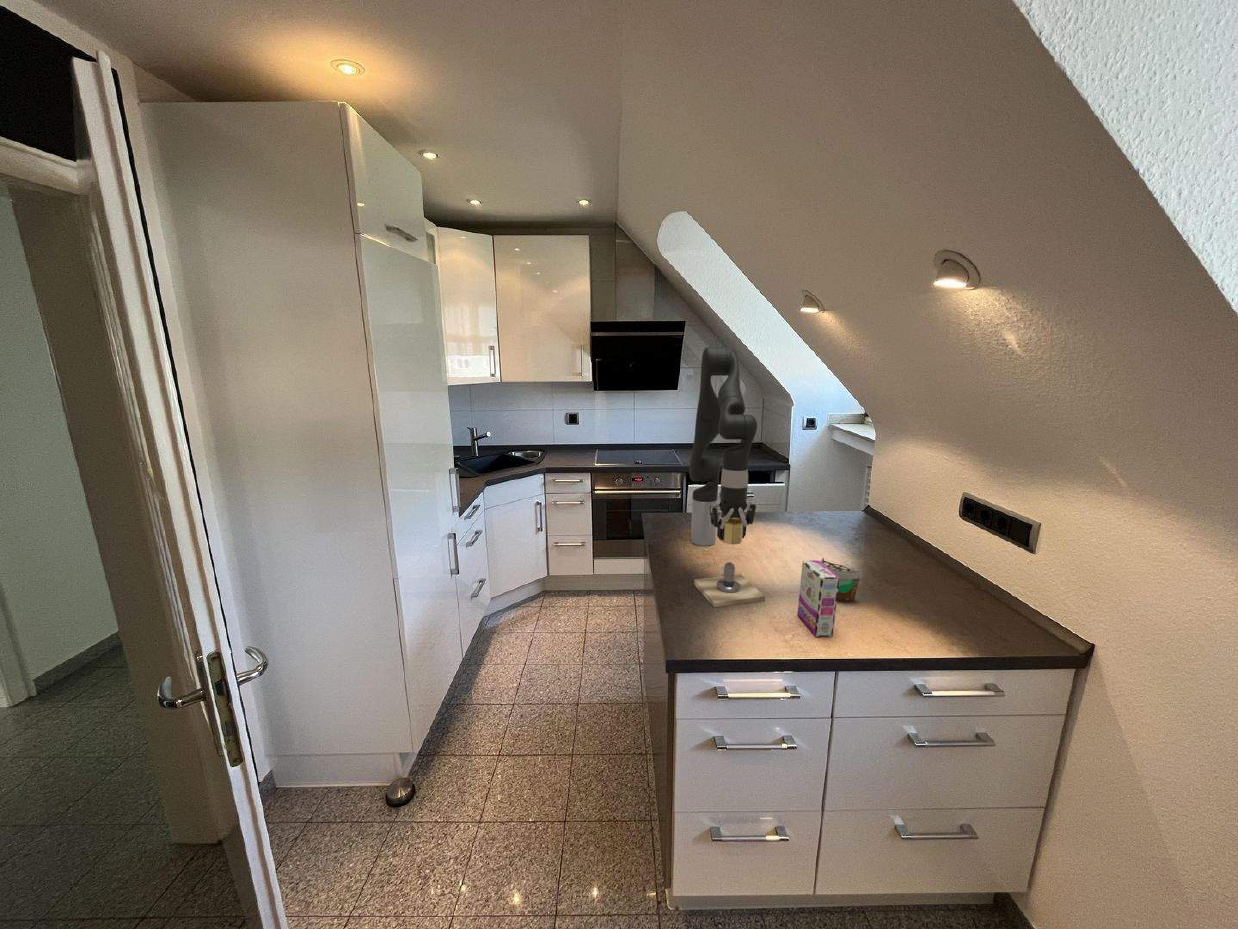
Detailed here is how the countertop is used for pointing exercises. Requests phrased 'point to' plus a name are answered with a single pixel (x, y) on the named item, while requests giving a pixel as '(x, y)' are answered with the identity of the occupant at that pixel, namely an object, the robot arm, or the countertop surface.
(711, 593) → the board
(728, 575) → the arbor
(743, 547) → the countertop surface
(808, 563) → the candy bar box
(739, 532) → the collar
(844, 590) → the food container
